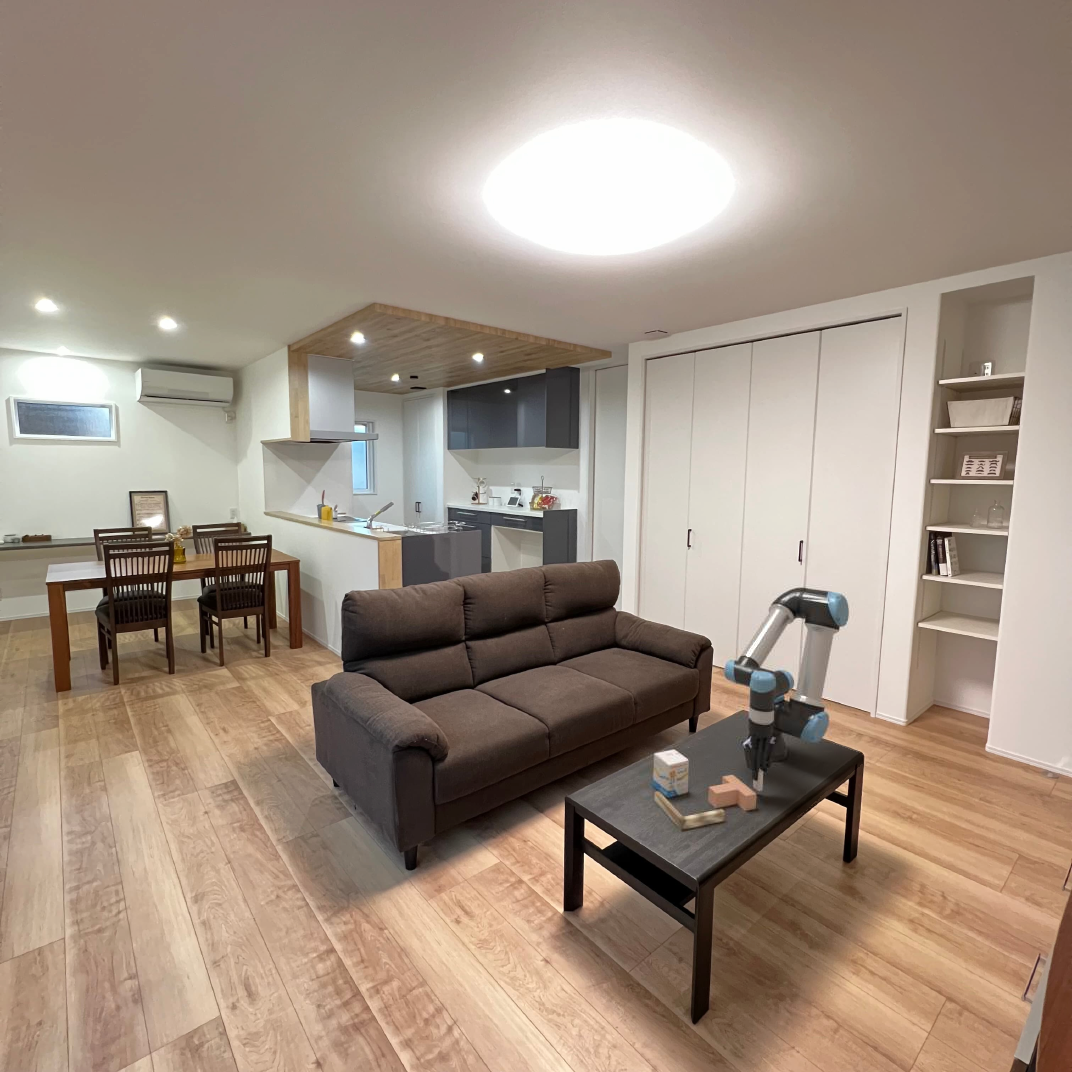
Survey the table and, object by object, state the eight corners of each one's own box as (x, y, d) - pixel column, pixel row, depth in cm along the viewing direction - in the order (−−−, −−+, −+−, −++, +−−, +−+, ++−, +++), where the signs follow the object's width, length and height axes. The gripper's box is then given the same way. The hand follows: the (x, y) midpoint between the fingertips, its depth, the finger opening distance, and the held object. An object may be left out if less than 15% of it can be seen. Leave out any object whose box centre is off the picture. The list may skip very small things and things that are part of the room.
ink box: (667, 798, 186) (668, 764, 185) (652, 785, 194) (653, 753, 193) (688, 792, 190) (689, 759, 188) (673, 780, 198) (674, 748, 196)
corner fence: (694, 792, 190) (695, 784, 189) (724, 820, 174) (724, 811, 174) (654, 800, 185) (654, 792, 185) (681, 830, 170) (681, 820, 170)
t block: (723, 815, 177) (724, 800, 177) (701, 794, 189) (701, 780, 188) (755, 808, 181) (756, 793, 180) (732, 788, 192) (732, 774, 192)
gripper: (769, 712, 191) (766, 779, 193) (736, 717, 187) (733, 785, 189) (785, 722, 184) (782, 791, 186) (751, 727, 180) (748, 798, 182)
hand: (757, 788), depth 188 cm, fingers closed
